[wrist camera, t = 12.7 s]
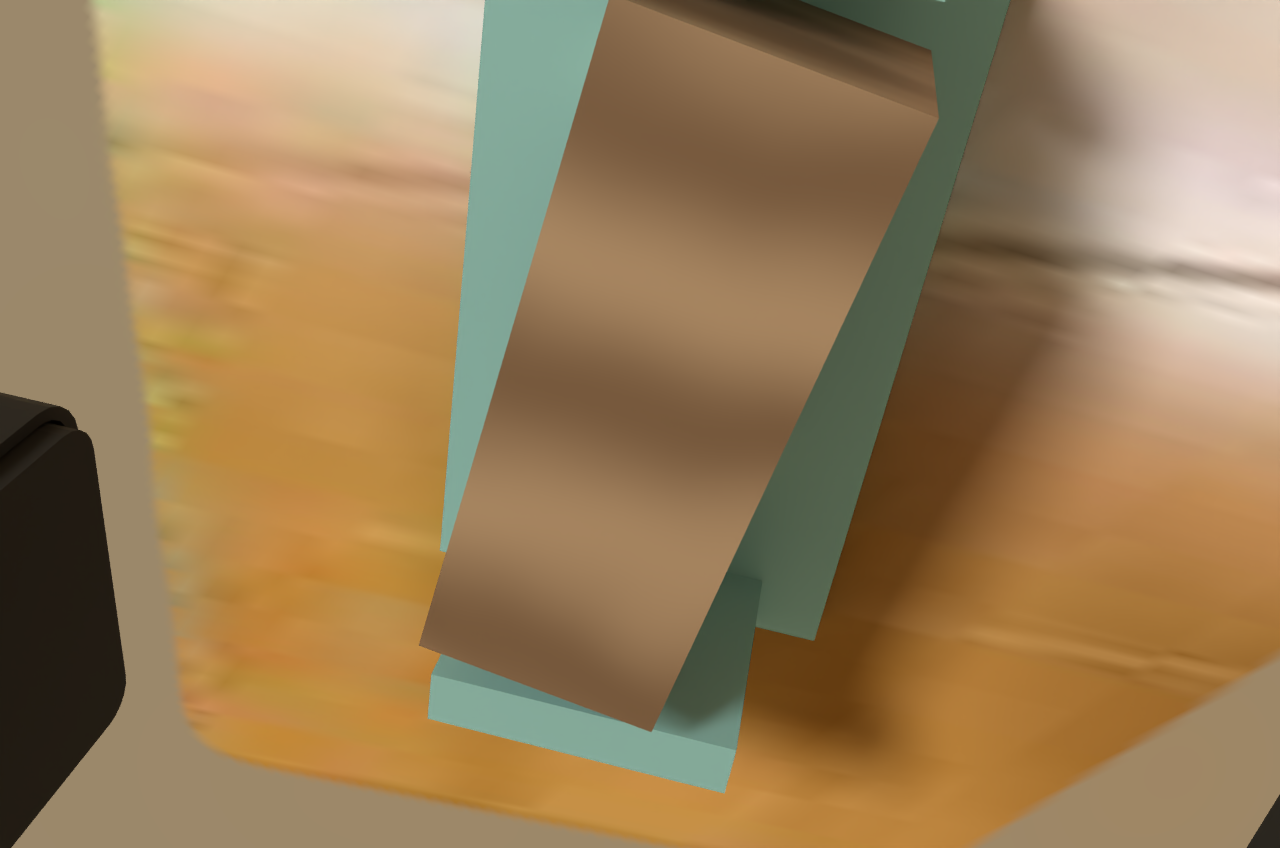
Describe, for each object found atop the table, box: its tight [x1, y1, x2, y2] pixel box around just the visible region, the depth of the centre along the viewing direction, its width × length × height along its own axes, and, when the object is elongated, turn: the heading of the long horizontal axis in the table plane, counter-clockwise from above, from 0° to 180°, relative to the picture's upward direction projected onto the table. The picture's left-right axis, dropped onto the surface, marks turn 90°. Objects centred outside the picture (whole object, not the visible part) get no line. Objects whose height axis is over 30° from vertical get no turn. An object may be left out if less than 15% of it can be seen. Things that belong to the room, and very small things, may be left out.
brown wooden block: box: [419, 0, 939, 732], centre depth 27 cm, size 16×6×5 cm, turn 162°
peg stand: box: [428, 0, 1010, 793], centre depth 29 cm, size 22×12×8 cm, turn 171°
